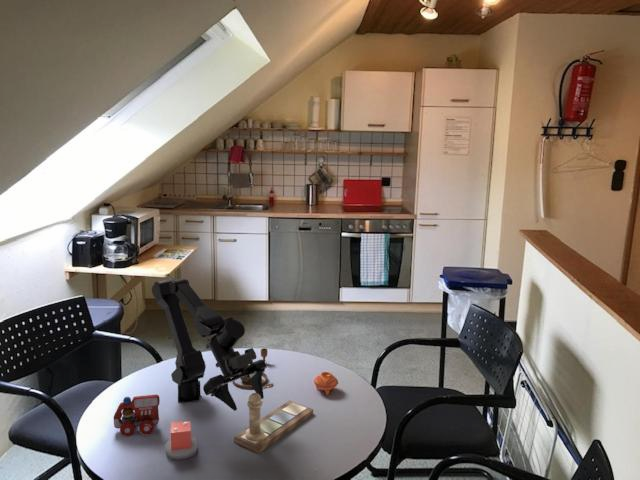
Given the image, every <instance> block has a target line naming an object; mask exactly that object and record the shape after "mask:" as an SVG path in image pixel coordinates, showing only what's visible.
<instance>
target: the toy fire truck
mask: <svg viewBox="0 0 640 480" xmlns="http://www.w3.org/2000/svg"><path fill="white" fill-rule="evenodd" d="M160 402H161V400H160V395H158V394H148V395H139V396H134V397H133V398H132V399H131V397H130V396H125V397H124V398H123V400H122V402H120V403H119V405H118V407H117V408H116V411H115V413H114V415H113V425H114V426H113V427H114V428H115V429H119V431H120V434H121V435H122V436H124V437H131V436H133V434H134V433H135V431H136V427H138V431H139V433H140V434H142V435H144V436H145V435H146V436H149V435H151V434H152V433H153V432H154V430H155V425H157V424H159V423H160V417H159V415H160V414H159V406H160Z"/></svg>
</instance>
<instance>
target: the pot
mask: <svg viewBox="0 0 640 480" xmlns="http://www.w3.org/2000/svg"><path fill="white" fill-rule="evenodd" d="M313 383H314V385H315V388H316V390H319V389H320V390H321V391H325V395H326V396H328V395H329V394H330V392H331V390H333V389H335V388H336V387H338V386H337V385H338V384H339V379H337V378H336V376H334V375H333V373H331V372H330V371H329V372H328V371H323V372H321V373H320V374H318V375H317V376H315V378H314V380H313Z"/></svg>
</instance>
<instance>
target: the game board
mask: <svg viewBox="0 0 640 480" xmlns="http://www.w3.org/2000/svg"><path fill="white" fill-rule="evenodd" d="M313 414H314V409H313V408H310V407H307V406H305V405H303V404H300V403H297V402H295V401H292V400H288V401H287V402H285V403H283V404H282V405H280V406H279V407H277V408H276V409H274V410H273V411H271V412H270V413H268V414H266V415H265V416H263V417H261V418H260V428H262V429H263V430H264V437H263V438H262V439H261V440H258V441H250V440H248V439H247V438H246V430H247V429H249V426H248V427H247V428H245V429H244V430H242V431H241V432H239V433H237V434H236V435H234V436H233V442H234V443H236V444H238V445H241V446H243V447H244V448H247V449H249V450H251V451H253V452H256V453H258V454H260V453H262V452H263V451H264V450H266V449H267V448H268V447H270V446H271V445H272V444H274V443H276V442H277V441H278V440H279V439H281V438H282V437H284V436H285V435H286V434H287V433H289V432H290V431H292V430H293V429H294V428H296V427H297V426H299V425H300V424H301V423H303V422H304V421H306V420H308V418H310V417H311V416H312V415H313Z"/></svg>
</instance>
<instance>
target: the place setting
mask: <svg viewBox="0 0 640 480" xmlns="http://www.w3.org/2000/svg"><path fill="white" fill-rule="evenodd" d="M260 356H261V357H262V360H264V361H265V362H266V358H267V357H268V348H261V349H260ZM249 365H250V364H249ZM249 365H247V367H248V366H249ZM247 367H245V368H244V369H246V368H247ZM240 375H241V374H240ZM232 378H233V377H232ZM262 378H264V381H262V386H264V385H265V384H266V383H267V382H268V375H267V374H266V373H265V372H264V373H263V374H262ZM239 379H240V380H241V381H243V383H246V384H250V382H249V381H248V380H249V379H250V378H249V377H247V376H245V377H242V378H239ZM231 383H232V384H233V385H234V386H236V387H238V388H241V389H246V390H247V389H248V390H249V389H253V387H252V385H251V384H250V385H244V384H239V383H237V382H235V380H234V381H232V382H231ZM273 386H274V383H273V382H271V383H268V384H266V385H265V386H264V387H262V388H263V390H265V389H269V388H272V387H273Z"/></svg>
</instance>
